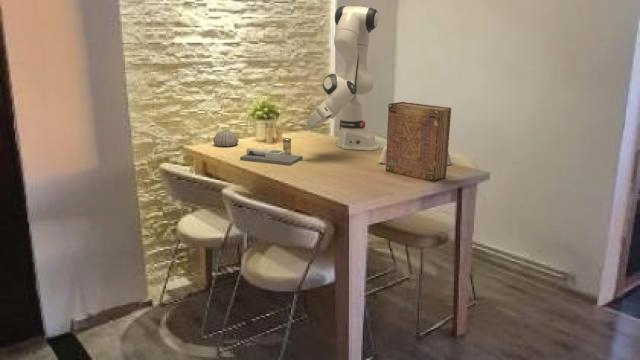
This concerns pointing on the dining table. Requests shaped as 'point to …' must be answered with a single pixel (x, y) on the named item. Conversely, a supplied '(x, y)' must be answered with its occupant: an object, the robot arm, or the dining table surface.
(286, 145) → the brass valve
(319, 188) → the dining table surface
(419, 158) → the book
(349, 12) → the robot arm
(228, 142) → the sea urchin shell
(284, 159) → the pipe board
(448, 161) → the flask
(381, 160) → the faucet
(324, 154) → the dining table surface
